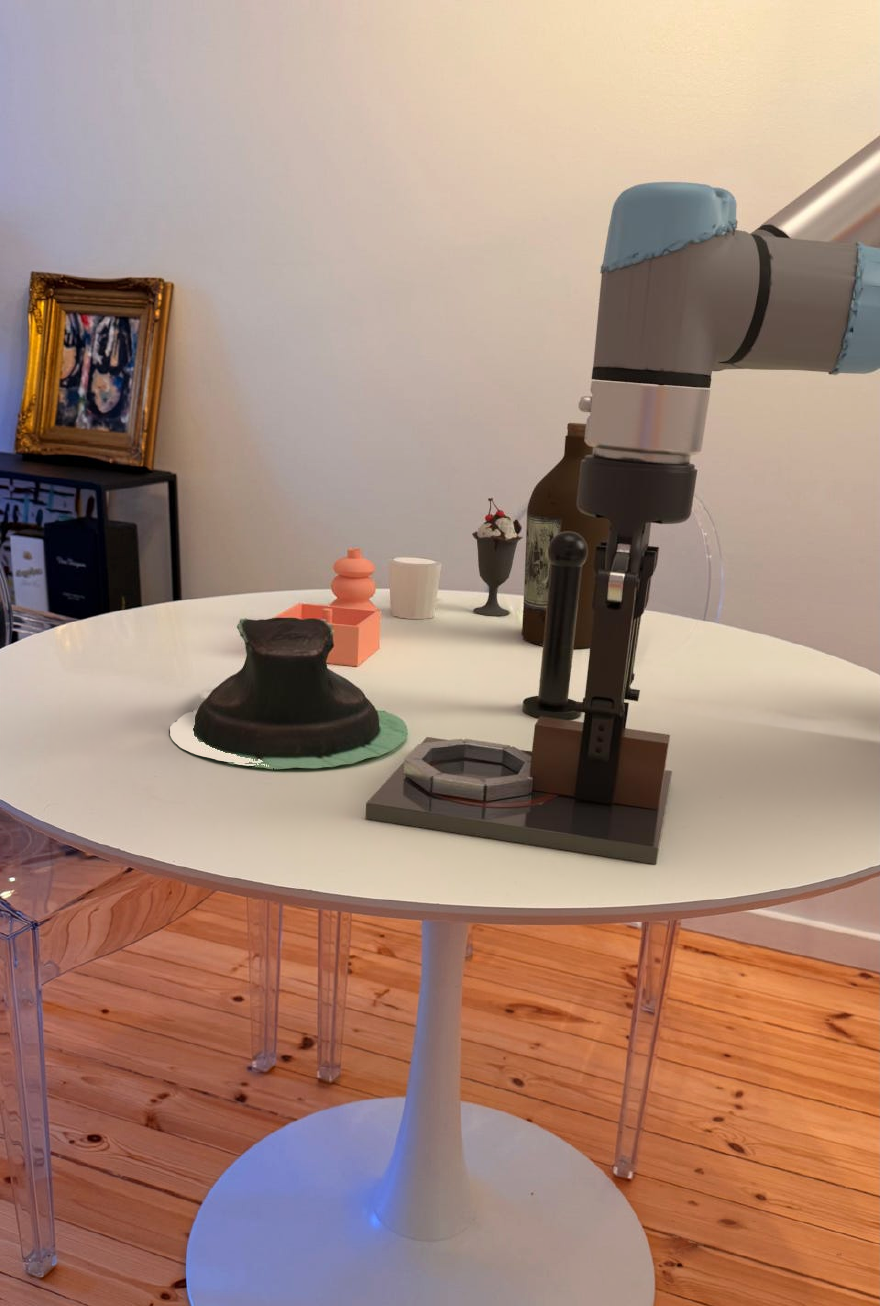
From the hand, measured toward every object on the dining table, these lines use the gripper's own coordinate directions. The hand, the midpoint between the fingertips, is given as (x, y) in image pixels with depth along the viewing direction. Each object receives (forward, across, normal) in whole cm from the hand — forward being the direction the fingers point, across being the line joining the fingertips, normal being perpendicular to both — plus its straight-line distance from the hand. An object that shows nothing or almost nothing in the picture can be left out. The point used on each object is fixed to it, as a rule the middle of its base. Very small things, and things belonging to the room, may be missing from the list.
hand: (596, 792), depth 79 cm
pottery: (+2, -40, -34) cm, 53 cm away
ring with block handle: (0, 0, -5) cm, 5 cm away
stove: (+1, 0, -5) cm, 5 cm away
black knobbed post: (+1, -24, -7) cm, 25 cm away
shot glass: (+2, -60, -31) cm, 68 cm away
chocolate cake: (+2, -8, -27) cm, 28 cm away
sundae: (+2, -67, -22) cm, 71 cm away
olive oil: (+2, -55, -11) cm, 56 cm away
